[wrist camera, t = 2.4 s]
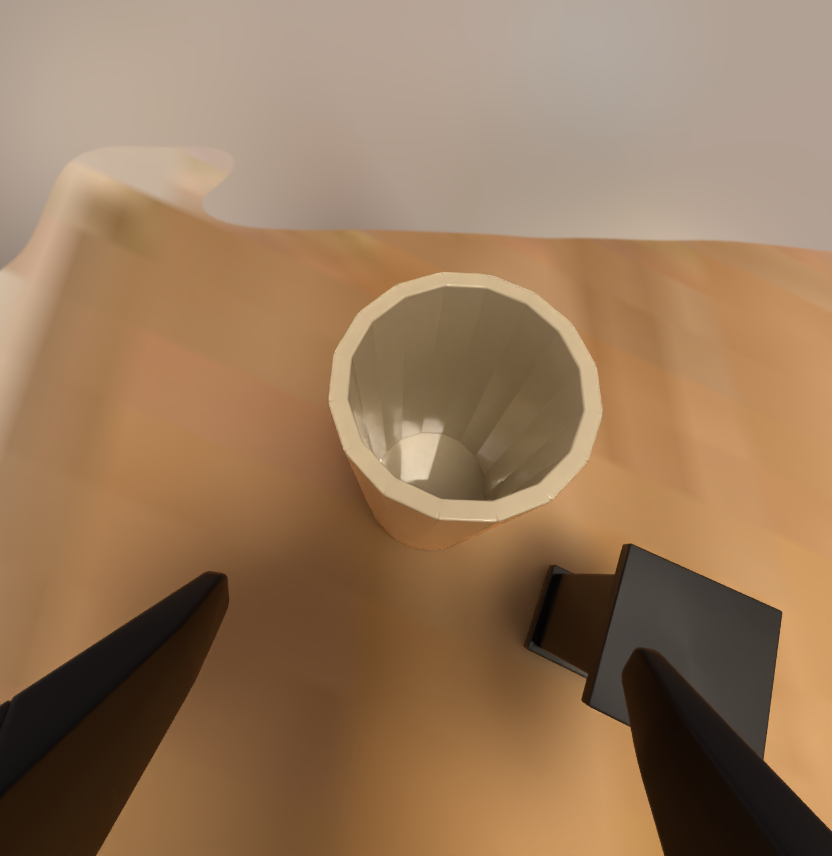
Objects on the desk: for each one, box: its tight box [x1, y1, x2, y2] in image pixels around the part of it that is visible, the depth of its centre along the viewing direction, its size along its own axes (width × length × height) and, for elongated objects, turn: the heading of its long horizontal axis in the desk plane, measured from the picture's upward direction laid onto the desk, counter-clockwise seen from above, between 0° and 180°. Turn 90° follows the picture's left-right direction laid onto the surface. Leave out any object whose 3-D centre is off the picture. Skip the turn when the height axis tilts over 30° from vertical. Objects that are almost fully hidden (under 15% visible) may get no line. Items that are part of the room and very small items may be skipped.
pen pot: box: [328, 272, 603, 550], centre depth 15 cm, size 6×6×12 cm
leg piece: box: [524, 544, 782, 759], centre depth 16 cm, size 5×5×8 cm
